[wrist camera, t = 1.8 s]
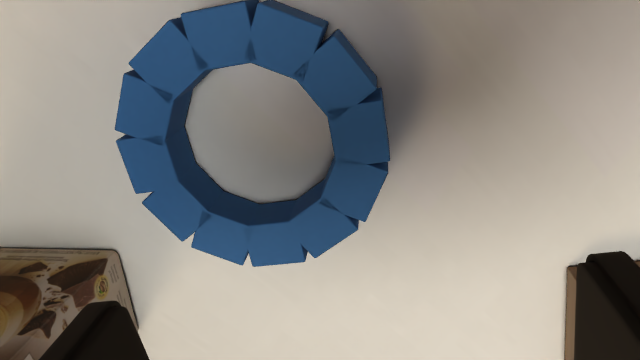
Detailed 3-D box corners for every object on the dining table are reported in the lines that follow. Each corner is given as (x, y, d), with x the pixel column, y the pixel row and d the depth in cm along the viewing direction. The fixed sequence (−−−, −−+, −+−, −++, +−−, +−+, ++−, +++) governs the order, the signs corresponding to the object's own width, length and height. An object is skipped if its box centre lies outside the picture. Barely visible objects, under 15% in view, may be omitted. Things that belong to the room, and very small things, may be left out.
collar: (366, -24, 20) (365, -24, 17) (400, 228, 24) (402, 253, 22) (105, 28, 22) (75, 34, 20) (183, 250, 26) (165, 275, 24)
